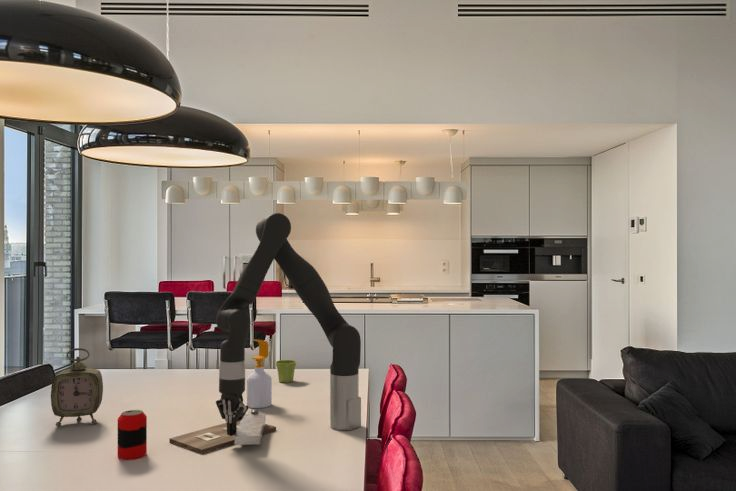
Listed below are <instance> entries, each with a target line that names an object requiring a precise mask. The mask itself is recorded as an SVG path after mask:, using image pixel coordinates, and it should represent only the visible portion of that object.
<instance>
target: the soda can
mask: <svg viewBox="0 0 736 491" xmlns="http://www.w3.org/2000/svg"><path fill="white" fill-rule="evenodd" d="M147 417H148V416H147V414H146V413H145V412H144V411H143V410H140V409H131V410H125V411H123V412H122V413H121V414H119V416H118V418H117V458H118V459H120V460H122V461H132V460H138V459H141V458H143V457H145V456H146V455H147V452H148V451H147V450H148V449H147V448H148V447H147V444H148V443H147V440H148V439H147V438H148V437H147V433H148V431H147V427H148V426H147V425H148V424H147V422H148V421H147V419H148V418H147Z"/></svg>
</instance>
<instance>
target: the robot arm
mask: <svg viewBox="0 0 736 491" xmlns="http://www.w3.org/2000/svg"><path fill="white" fill-rule="evenodd" d="M291 230H292V223H291V220H290V219H289V218H288V217H287V216H286V215H285V214H283V213H281V212H275V213H272V214H269V215H267V216H266V217H263V218H262V219H260V220H259V221H258V222H257V224H256V225H255V234H256V237H257V239H258V240H259V244H258V246H257V247H256V250H255V251H254V253H253V255H252V256H251V258H250V259H249V261H248V262H247V264H246V265H245V266H244V267H243V270H242V271H241V274H240V276H239V277H238V280H237V282H236V283H235V286H234V288H233V291H232V292H231V294H229V296H228V297H227V298H226V300H224V302H223V304H222V305H221V306H220V308H219V309H218V311H217V313H216V317H215V323H216V327H217V328H218V329H219V330H220V331H224V332H229V333H228V337H227V339H226V340H224V341H222V342H221V344H220V350H219V354H220V356H219V358H220V361H219V369H218V373H219V374H218V392H219V393H220V394H221V395H220V398H219V399H218V400H215V405H216V407H217V409H218V412H219V414H220V417H221V419H223V420H224V421H225V423H227V435H230V436H233V435H235V434H236V431H237V430H236V429H237V422H238V421H241V420H242V419H243V417H244V415H245V414H247V412H248V411H249V408H250V407H248V406H247V404H246V405H245V403H244V398H243V393H244V392H245V391H246V363H245V358H246V356H245V354H246V352H245V351H246V350H245V349H246V348H245V346H246V343H247V340H248V337H249V332H250V328H251V318H250V314H249V313H248V312H247V311H246V309H245V307H247V306H250V305H252V304H253V303H254V302H255V301H256V298H257V296H258V294H259V292H260V289H261V287H262V284H263V283H264V280H265V278H266V276H267V274H268V272H269V269H270V268H271V266H272V263H273V262H274V260H275V262H276V263H277V266H279V268H280V270H281V271H282V272H283V274H284V276H285V277H286V278H287V280H288V281H289V283H290V285H291V286H292V288H293V289H294V291H295V293H296V295H298V297H299V299H300V300H301V301H302V302H303V304H304V305H305V306H306V308H307V309H308V311H310V313H311V314H312V315H313V316H314V317H315V319H316V320H317V322H318V323H319V325H320V327H321V329H322V331H323V333H324V334H325V337H326V339H327V341H328V343H329V345H330V346H331V348H332V361H331V364H330V367H329V368H330V370H329V372H330V375H329V382H330V383H329V388H330V390H329V394H330V395H329V397H330V398H329V399H330V400H329V404H330V406H329V408H330V409H329V411H330V414H329V418H330V419H329V420H330V428H331V429H334V430H339V431H349V432H350V431H351V430H354V429H357V428H360V427H362V397H361V396H359V380H360V379H359V378H360V377H359V374H360V372H359V371H360V370H359V369H360V365H361V352H362V351H361V350H362V343H361V342H362V341H361V340H362V339H361V334H360V332H359V330H358V329H357V328H355V327H354V326H352V325H351V324H349V323H348V322H347V321H346V320H345V318H344V317H343V316H342V314H341V313H340V312H339V311H338V309H337V308H336V306H335V303H334V301H333V299H332V296H331V294H330V291H329V288H328V287H327V284H326V283H325V282H324V280H323V279H322V277H321V276H320V274H319V272H318V270H317V269H316V268H315V267H314V266H313V265H312V264H311V263H310V262H308V260H306V259H305V258H303V257H302V256H301V255H299V253H298V252H296V251H295V248H293V247H292V245H291V244H290V242H289V240H288V238H289V236H290V234H291Z"/></svg>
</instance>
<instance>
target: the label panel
mask: <svg viewBox="0 0 736 491" xmlns="http://www.w3.org/2000/svg"><path fill="white" fill-rule="evenodd" d="M240 422H241V421H238V422H237V429H238V427H239V424H240ZM237 429H236V430H237ZM276 431H277V426H275V425H272V424H268V423H265V425H264V429H263V433H262V436H263V435H267V434H269V433H273V432H276ZM168 441H169V444H173V445H176V446H178V447H181V448H184V449H186V450H190V451H192V452H195V453H198V454H200V455H203V454H205V453H209V452H213V451H215V450H216V451H217V450H219V449H221V448H224V447H228V446H231V445H234V442H235V435H233V436H230V435H227V422H224V423H221V424H217V425H213V426H210V427H206V428H203V429H199V430H195V431H191V432H188V433H184V434H181V435H178V436H177V435H176V436H174V437H173V436H172V437H171V438H169V440H168Z"/></svg>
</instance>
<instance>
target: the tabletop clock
mask: <svg viewBox="0 0 736 491" xmlns="http://www.w3.org/2000/svg"><path fill="white" fill-rule="evenodd" d="M74 351H84V352H85V353H87V356H85V357H84V358H83V357H82V358H80V356H76V357H75V358H71V357H70V356H69V354H70V353H71V352H74ZM89 357H90V352H89V350H87V349H85V348H82V347H77V348H72V349H70V350H69V351H67V353H66V358H67V360H69V361H72V362H73V363H72V364H71V365H70V366H69V368H68V369H64V370H62V371H59V373H57V374H56V375H55V376H54V377H53V380H52V382H51V391H50V402H51V403H50V404H51V409H52V410H51V411H52V412H53V414H54V416H57V417H60V418H59V420H58V421H57V422H55V427H56V428H59V427H61V426H62V423H61V422H62V421H63V419H64V418H76V417H77V418H76V422H77V423H81V422H82V417H85V416H89V417H90V418H91V425H96V424H97V422H98V421H97V419H96V418H94V413H96V412H97V411H98V409H100V407H101V405H102V400H103V394H104V382H103V375H102V372H101V370H100V369H98V368H94V367H93V368H91V367H87V365H86V363H85V362H83V361H85V360H87V359H89Z"/></svg>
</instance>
